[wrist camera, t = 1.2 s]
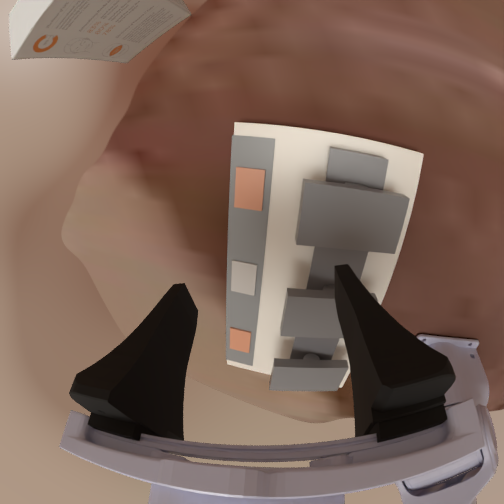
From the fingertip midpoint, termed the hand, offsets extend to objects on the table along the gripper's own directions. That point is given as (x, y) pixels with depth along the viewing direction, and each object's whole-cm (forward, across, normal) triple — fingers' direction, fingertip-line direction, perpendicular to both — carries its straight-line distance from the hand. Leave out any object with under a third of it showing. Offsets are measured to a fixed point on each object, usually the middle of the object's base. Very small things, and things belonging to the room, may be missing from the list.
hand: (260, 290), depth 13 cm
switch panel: (+9, -2, +8) cm, 13 cm away
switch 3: (+4, -2, +16) cm, 16 cm away
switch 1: (+6, -6, 0) cm, 8 cm away
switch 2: (+5, -4, +8) cm, 10 cm away
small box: (+17, +8, -18) cm, 26 cm away
